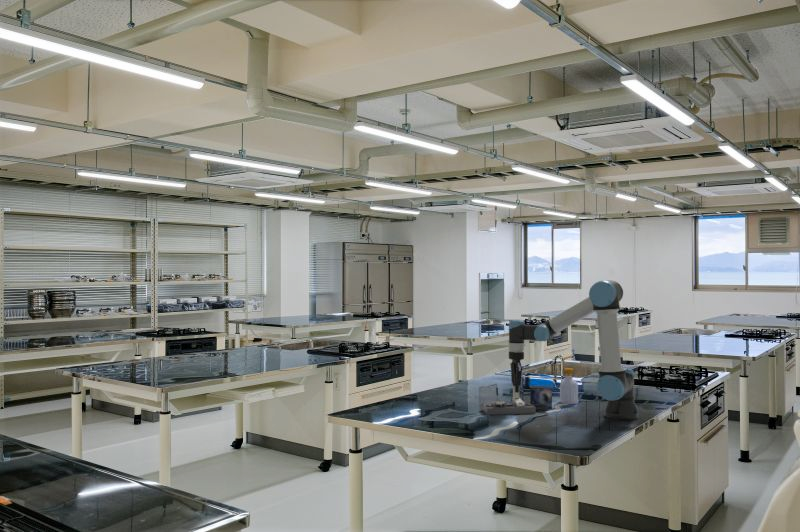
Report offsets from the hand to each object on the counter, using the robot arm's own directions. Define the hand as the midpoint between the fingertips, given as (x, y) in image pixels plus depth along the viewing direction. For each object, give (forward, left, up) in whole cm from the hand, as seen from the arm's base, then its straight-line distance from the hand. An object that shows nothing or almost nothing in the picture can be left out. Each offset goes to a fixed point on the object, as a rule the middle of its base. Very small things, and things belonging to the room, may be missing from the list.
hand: (516, 398), depth 311 cm
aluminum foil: (+77, -81, -6) cm, 112 cm away
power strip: (-4, +5, -6) cm, 8 cm away
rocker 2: (-4, 0, -1) cm, 4 cm away
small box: (+4, -14, -6) cm, 16 cm away
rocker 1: (-4, +10, -1) cm, 11 cm away
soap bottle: (+13, -32, -6) cm, 35 cm away
